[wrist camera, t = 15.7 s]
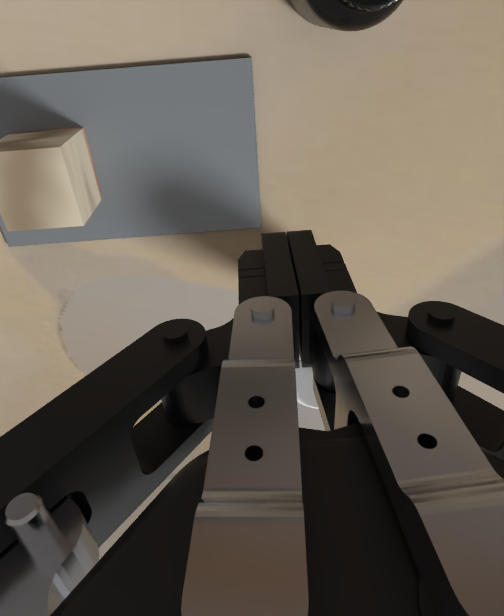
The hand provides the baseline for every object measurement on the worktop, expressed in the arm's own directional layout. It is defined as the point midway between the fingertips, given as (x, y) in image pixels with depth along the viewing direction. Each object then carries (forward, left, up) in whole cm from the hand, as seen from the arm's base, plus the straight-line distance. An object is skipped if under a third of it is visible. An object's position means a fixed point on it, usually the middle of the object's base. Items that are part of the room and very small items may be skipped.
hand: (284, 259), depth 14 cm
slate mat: (+12, +4, -27) cm, 30 cm away
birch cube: (+17, +4, -21) cm, 27 cm away
